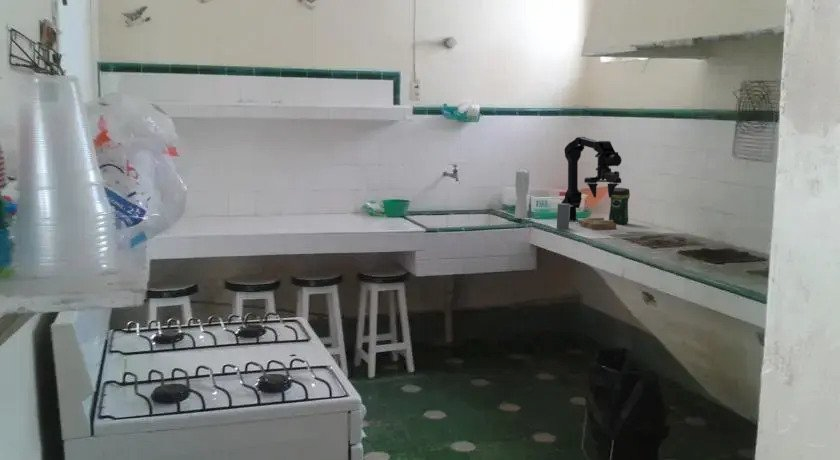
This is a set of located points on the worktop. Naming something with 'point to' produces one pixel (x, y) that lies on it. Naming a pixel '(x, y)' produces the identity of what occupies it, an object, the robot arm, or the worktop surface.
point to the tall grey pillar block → (563, 216)
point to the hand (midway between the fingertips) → (602, 197)
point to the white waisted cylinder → (522, 194)
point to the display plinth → (597, 223)
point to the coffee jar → (619, 206)
